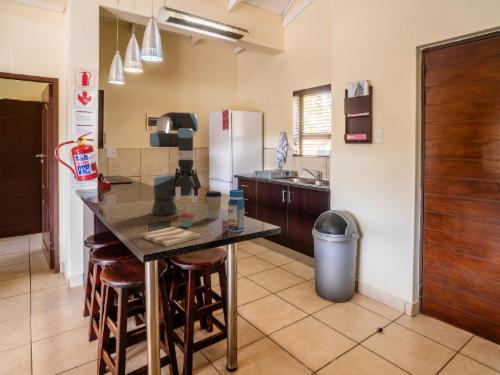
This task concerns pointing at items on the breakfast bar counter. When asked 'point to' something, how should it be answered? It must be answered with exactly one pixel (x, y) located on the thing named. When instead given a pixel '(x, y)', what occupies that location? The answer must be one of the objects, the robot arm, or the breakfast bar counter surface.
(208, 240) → the breakfast bar counter surface
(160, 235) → the serving board
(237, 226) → the beverage bottle
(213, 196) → the coffee cup
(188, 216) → the cupcake
